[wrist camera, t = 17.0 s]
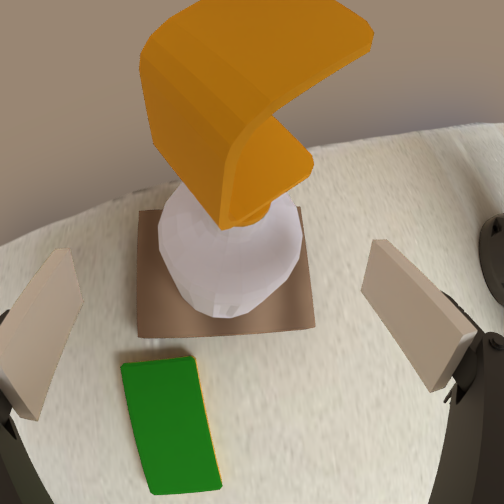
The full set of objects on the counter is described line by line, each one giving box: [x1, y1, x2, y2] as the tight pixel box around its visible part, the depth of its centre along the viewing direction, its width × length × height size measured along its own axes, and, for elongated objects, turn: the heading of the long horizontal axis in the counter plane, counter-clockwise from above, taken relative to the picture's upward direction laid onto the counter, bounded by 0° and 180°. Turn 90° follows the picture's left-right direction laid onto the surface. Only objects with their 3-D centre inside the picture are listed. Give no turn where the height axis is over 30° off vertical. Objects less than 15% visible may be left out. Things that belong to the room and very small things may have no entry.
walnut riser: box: [137, 207, 315, 338], centre depth 30 cm, size 16×12×3 cm
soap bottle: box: [139, 0, 374, 318], centre depth 17 cm, size 9×9×25 cm
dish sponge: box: [120, 356, 222, 495], centre depth 26 cm, size 7×14×2 cm, turn 10°
